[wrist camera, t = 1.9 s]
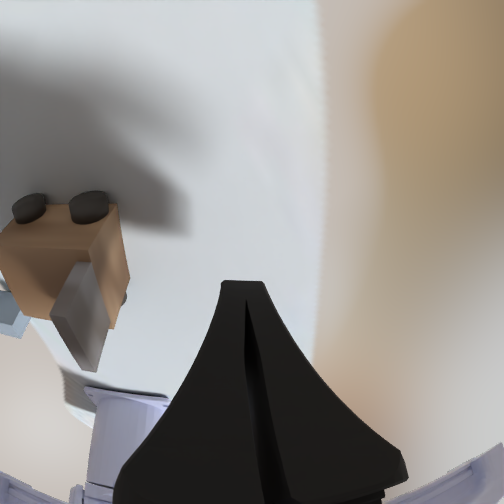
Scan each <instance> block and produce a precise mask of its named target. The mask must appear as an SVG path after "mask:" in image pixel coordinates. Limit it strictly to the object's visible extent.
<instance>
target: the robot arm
mask: <svg viewBox="0 0 504 504" xmlns="http://www.w3.org/2000/svg"><path fill="white" fill-rule="evenodd" d="M84 392H85V393H86V395H87V396H88V397H89V398H90V400H91V401H92V402H93V403H94V404H95V406H96V407H97V410H96V416H95V421H94V427H93V433H92V440H91V446H90V454H89V462H88V470H87V480H86V481H87V482H89V483H91V484H89V483H85V490H83V486H82V485H78V484H77V485H76V487H73V488H71V490H70V497H69V503H67V502H64V501H61V500H59V499H56V498H54V497H51V496H48V495H46V494H44V493H41V492H39V491H37V490H35V489H33V488H32V487H31V486H30V485H28V484H26V483H24V482H22V481H20V480H18V479H16V478H14V477H12V476H10V475H8V474H5V473H3V472H1V471H0V504H497V503H498V502H499V501H500V500H501V499H502V498H504V448H503V444H502V443H499V444H497V445H495V446H494V447H492V448H490V449H489V450H487V451H486V452H484V453H482V454H480V455H479V456H477V457H475V458H472V459H470V460H468V461H466V462H464V463H462V464H461V465H459V466H457V467H455V468H454V469H452V470H450V471H448V472H447V474H446V475H444V476H442V477H440V478H438V479H436V480H434V481H432V482H430V483H428V484H426V485H424V486H421V487H419V488H417V489H415V490H412V491H410V492H408V493H405V494H403V495H400V496H398V497H395V498H393V499H390V500H387V501H385V502H382V501H381V499H382V498H384V497H385V492H384V489H387V488H390V487H392V486H395V485H398V484H400V483H403V482H405V481H407V479H408V478H409V477H408V473H407V469H406V465H405V462H404V459H403V457H402V454H401V451H400V450H399V449H397V448H396V447H394V446H393V445H392V444H390V443H389V442H388V441H386V440H385V439H384V438H382V437H381V436H380V435H378V434H377V433H376V432H375V431H373V430H372V429H371V428H370V427H369V426H368V425H367V424H365V423H364V422H363V421H362V420H361V419H360V418H358V417H357V416H356V414H354V413H353V412H352V411H351V410H350V409H349V408H348V407H347V406H346V405H345V404H344V403H343V402H342V401H341V400H340V399H339V398H338V397H337V395H336V394H335V393H334V392H333V391H332V390H331V389H330V388H329V386H327V384H326V383H325V382H324V381H323V379H322V378H321V377H320V376H319V375H318V373H317V372H316V371H315V369H314V368H313V367H312V365H311V364H310V363H309V361H308V360H307V359H306V357H305V356H304V354H303V353H302V351H301V350H300V349H299V347H298V346H297V344H296V342H295V341H294V339H293V338H292V336H291V335H290V333H289V331H288V329H287V328H286V326H285V324H284V323H283V321H282V319H281V317H280V316H279V314H278V312H277V310H276V308H275V306H274V304H273V302H272V300H271V298H270V296H269V294H268V291H267V289H266V287H265V284H264V283H263V282H262V281H236V280H224V281H223V282H221V289H220V295H219V299H218V303H217V306H216V310H215V313H214V316H213V318H212V321H211V324H210V327H209V329H208V332H207V334H206V337H205V339H204V341H203V343H202V346H201V348H200V350H199V352H198V355H197V357H196V359H195V361H194V363H193V365H192V367H191V369H190V370H189V372H188V374H187V376H186V378H185V380H184V381H183V383H182V385H181V386H180V388H179V390H178V391H177V393H176V395H175V396H174V398H173V400H172V401H170V399H168V398H163V397H153V396H144V395H136V394H128V393H121V392H115V391H108V390H103V389H97V388H92V387H84ZM93 484H94V485H93Z"/></svg>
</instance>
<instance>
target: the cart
mask: <svg viewBox="0 0 504 504" xmlns="http://www.w3.org/2000/svg"><path fill="white" fill-rule="evenodd" d="M12 211H13V214H14V219H13V220H12V221H11V222H10V223H9V224H8V225H7V226H6V227H5V228H4V229H3V231H2V232H1V233H0V270H1V273H2V275H3V277H4V279H5V281H6V283H7V285H8V287H9V289H10V291H11V293H12V295H13V297H14V299H15V301H16V302H17V304H18V306H19V308H20V310H21V311H22V313H23V315H24V316H29V317H34V318H40V319H45V320H51V321H53V323H54V325H55V327H56V329H57V330H58V332H59V334H60V336H61V337H62V339H63V341H64V343H65V344H66V346H67V348H68V349H69V351H70V352H71V354H72V356H73V357H74V359H75V360H76V362H77V363H78V365H79V366H80V368H81V369H82V370H84V371H90V372H95V373H96V372H97V368H98V364H99V360H100V357H101V353H102V350H103V346H104V343H105V339H106V336H107V332H108V329H114V327H115V324H116V320H117V317H118V314H119V310H120V307H121V306H122V305H123V304H124V303H125V301H126V299H127V294H126V289H127V286H128V283H129V280H130V275H129V270H128V265H127V260H126V255H125V250H124V245H123V239H122V233H121V227H120V221H119V214H118V207H117V204H108V199H107V195H106V193H104V192H101V191H90V192H86V193H82V194H80V195H78V196H76V197H74V198H73V199H72V200H71V201H70V202H69V204H52V205H45V201H44V197H43V195H42V194H38V193H36V194H31V195H28V196H25V197H23V198H21V199H20V200H18V201H17V202H16V203H15V204H14V205H13V206H12Z"/></svg>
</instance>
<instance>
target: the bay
mask: <svg viewBox="0 0 504 504" xmlns="http://www.w3.org/2000/svg"><path fill="white" fill-rule="evenodd" d="M30 319H31V317H29V316H24V315H23V313H22V311H21V310H20V308H19V306H18V304H17V302H16V301H15V299H14V297H13V295H12V293H11V292H7V291H1V290H0V333H1V334H4V335H8V336H12V337H16V338H19V339H21V338H22V336H23V333H24V331H25V329H26V327H27V325H28V323H29V321H30Z"/></svg>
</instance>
